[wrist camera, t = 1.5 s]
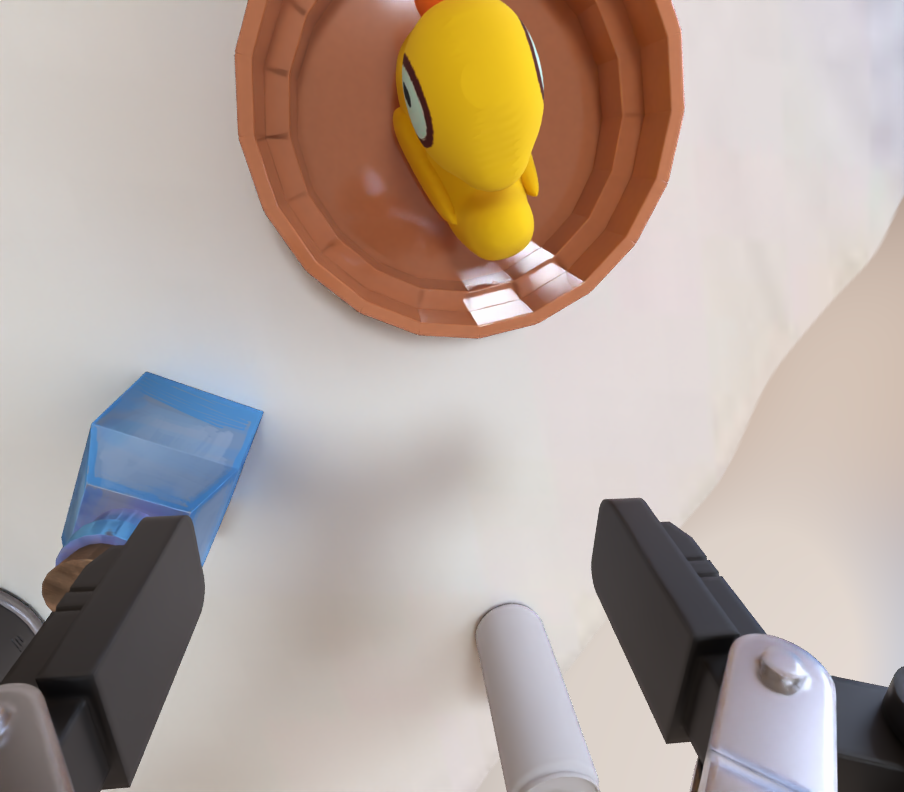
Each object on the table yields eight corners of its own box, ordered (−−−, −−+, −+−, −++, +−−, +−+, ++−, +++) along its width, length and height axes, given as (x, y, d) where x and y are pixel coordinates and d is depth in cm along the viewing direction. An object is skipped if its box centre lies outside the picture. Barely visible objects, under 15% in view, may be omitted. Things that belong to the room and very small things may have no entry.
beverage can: (487, 594, 38) (531, 770, 27) (551, 604, 39) (618, 778, 28) (465, 646, 40) (498, 833, 29) (527, 655, 41) (582, 838, 30)
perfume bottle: (117, 468, 31) (-20, 636, 20) (146, 371, 29) (10, 500, 18) (230, 501, 33) (157, 673, 22) (263, 411, 31) (202, 551, 20)
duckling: (348, 4, 24) (331, -88, 15) (468, -41, 24) (525, -163, 15) (437, 260, 29) (465, 310, 19) (537, 223, 28) (613, 256, 19)
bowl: (268, 295, 29) (246, 325, 24) (256, -138, 22) (221, -223, 17) (590, 316, 31) (631, 347, 26) (664, -66, 25) (738, -121, 20)
